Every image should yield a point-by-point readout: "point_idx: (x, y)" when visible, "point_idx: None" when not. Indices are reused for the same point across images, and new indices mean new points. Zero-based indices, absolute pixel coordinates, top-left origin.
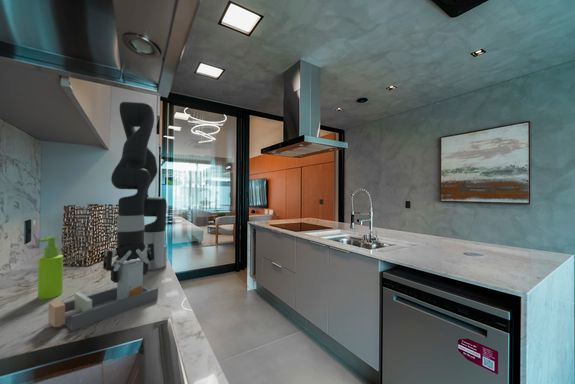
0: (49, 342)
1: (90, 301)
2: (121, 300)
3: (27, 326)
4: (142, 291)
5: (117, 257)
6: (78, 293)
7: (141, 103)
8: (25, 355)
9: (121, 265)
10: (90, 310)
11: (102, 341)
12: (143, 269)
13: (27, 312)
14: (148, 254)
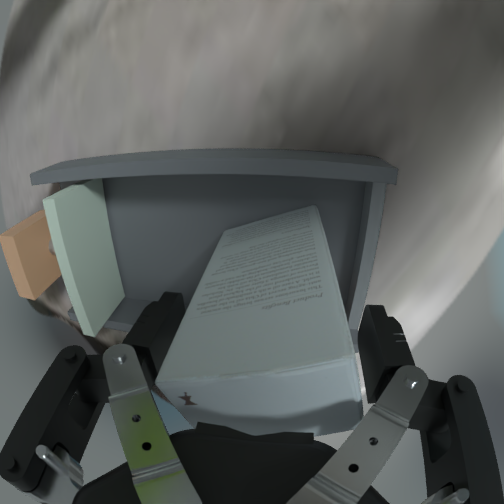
0: (62, 301)
1: (92, 333)
2: None
3: (20, 166)
4: (361, 221)
5: (122, 439)
6: (52, 220)
7: None
8: (42, 309)
9: (175, 407)
10: (105, 325)
11: None
12: (366, 354)
13: (28, 49)
14: (456, 426)
